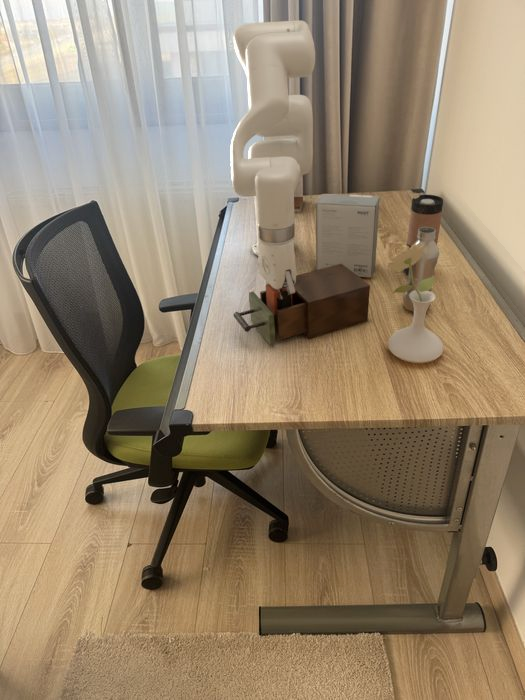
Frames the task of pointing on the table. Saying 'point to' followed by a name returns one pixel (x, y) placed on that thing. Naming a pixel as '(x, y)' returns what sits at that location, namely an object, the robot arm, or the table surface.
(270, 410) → the table surface
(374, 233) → the hard drive box
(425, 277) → the metal bottle
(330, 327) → the cabinet
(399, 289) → the flower in vase
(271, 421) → the table surface
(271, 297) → the block
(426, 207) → the travel mug
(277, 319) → the drawer
